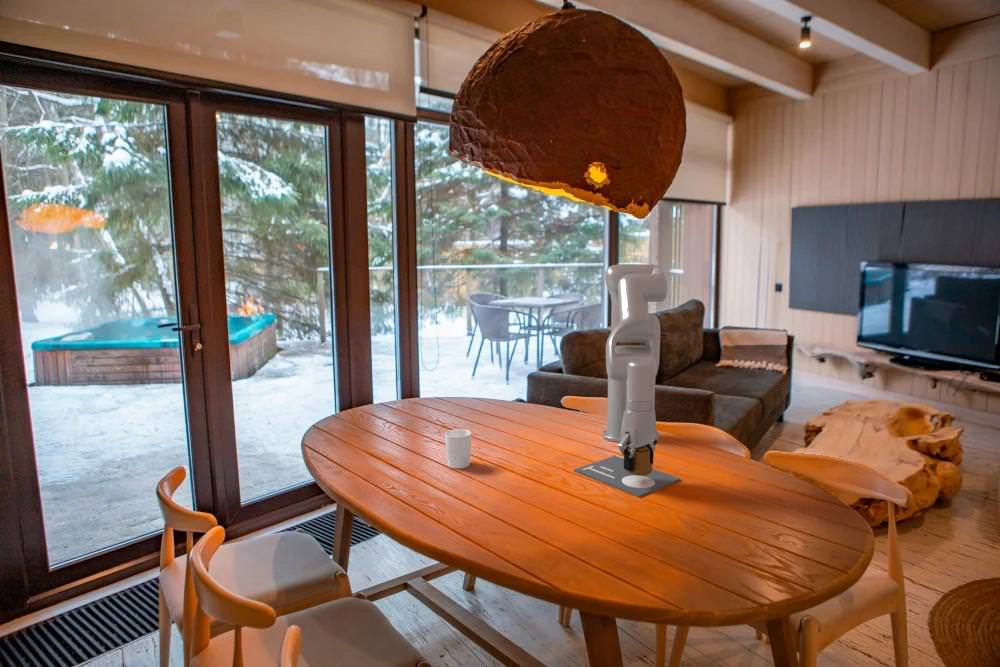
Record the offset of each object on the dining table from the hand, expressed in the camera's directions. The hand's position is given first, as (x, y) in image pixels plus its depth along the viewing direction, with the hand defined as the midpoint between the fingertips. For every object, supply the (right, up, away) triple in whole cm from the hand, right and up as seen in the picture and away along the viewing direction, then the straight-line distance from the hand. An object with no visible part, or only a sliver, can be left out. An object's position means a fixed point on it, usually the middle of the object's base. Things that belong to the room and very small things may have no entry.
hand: (638, 466), depth 173 cm
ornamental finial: (0, -2, 0) cm, 2 cm away
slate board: (-2, -4, +7) cm, 8 cm away
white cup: (-51, -3, +16) cm, 53 cm away
